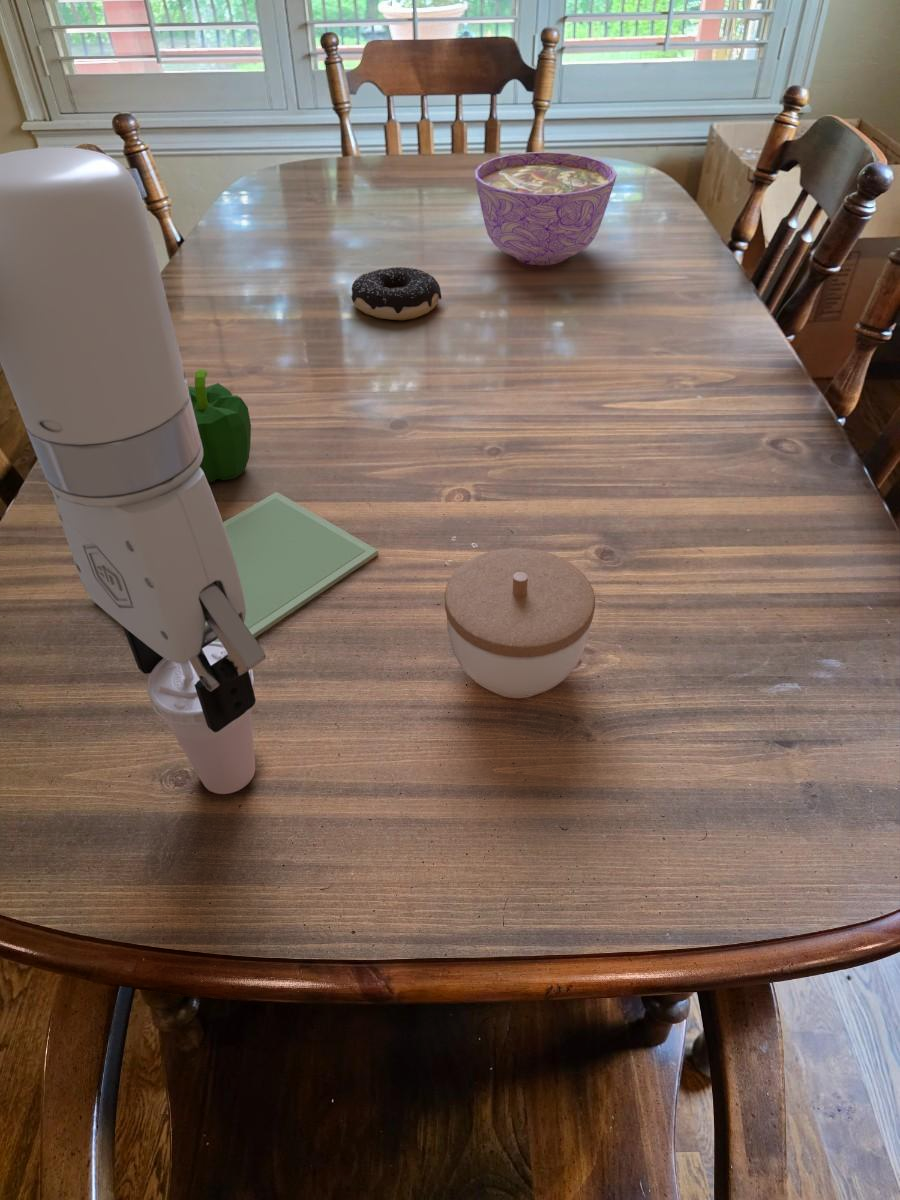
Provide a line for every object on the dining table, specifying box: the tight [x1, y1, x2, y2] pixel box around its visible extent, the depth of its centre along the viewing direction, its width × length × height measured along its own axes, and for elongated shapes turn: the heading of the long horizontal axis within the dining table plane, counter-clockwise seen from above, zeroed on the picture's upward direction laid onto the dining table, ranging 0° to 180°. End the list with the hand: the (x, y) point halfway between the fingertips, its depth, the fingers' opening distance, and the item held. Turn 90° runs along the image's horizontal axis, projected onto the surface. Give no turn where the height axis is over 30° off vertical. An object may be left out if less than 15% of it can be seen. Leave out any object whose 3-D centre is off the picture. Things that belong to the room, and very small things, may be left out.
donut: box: [350, 266, 442, 321], centre depth 116 cm, size 11×12×4 cm
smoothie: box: [146, 642, 256, 795], centre depth 55 cm, size 6×6×14 cm
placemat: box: [205, 491, 379, 642], centre depth 75 cm, size 20×14×1 cm
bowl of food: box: [474, 151, 618, 266], centre depth 126 cm, size 20×20×12 cm
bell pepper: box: [188, 368, 252, 484], centre depth 85 cm, size 8×8×10 cm
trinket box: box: [444, 547, 596, 699], centre depth 64 cm, size 11×11×9 cm
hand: (196, 685), depth 54 cm, fingers closed on smoothie, 6 cm apart
